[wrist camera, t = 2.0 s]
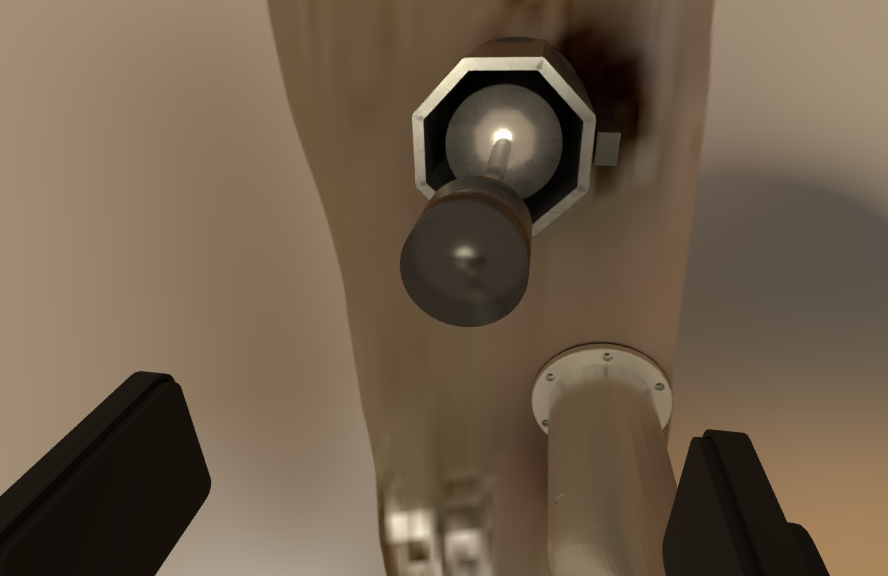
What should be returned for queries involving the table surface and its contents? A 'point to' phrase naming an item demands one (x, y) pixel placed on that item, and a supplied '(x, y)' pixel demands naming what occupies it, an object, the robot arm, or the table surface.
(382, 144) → the table surface
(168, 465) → the robot arm
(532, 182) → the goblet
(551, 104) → the grey octagonal cup
